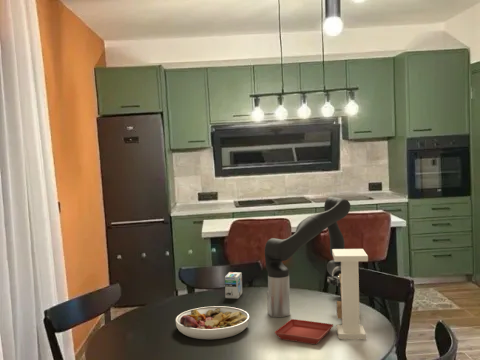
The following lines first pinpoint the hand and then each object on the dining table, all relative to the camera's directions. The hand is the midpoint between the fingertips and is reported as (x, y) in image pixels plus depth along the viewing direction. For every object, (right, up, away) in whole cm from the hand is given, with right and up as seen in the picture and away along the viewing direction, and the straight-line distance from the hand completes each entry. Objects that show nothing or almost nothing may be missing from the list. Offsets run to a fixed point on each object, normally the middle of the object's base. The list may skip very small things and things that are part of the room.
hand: (344, 285), depth 224 cm
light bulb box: (-48, -13, +35) cm, 61 cm away
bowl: (-56, -16, -12) cm, 60 cm away
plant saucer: (-20, -15, -24) cm, 34 cm away
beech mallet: (0, -5, -2) cm, 5 cm away
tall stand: (-2, -14, -24) cm, 28 cm away
